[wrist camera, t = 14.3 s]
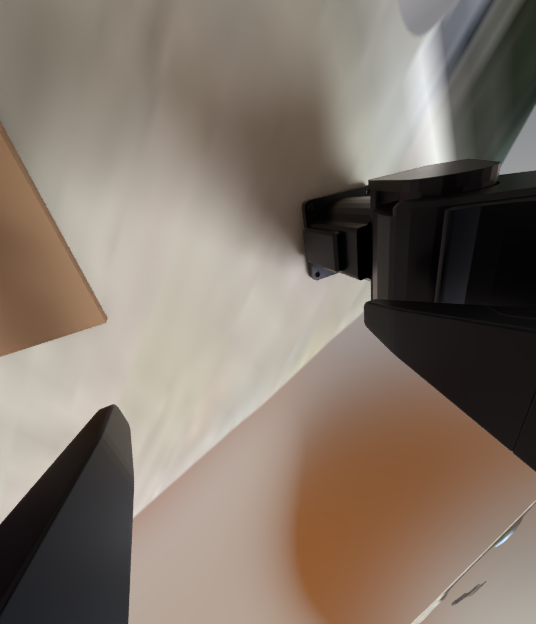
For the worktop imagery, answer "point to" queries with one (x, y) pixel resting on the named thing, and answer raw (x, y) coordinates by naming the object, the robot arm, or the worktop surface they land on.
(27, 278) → the can holder
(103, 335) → the worktop surface
